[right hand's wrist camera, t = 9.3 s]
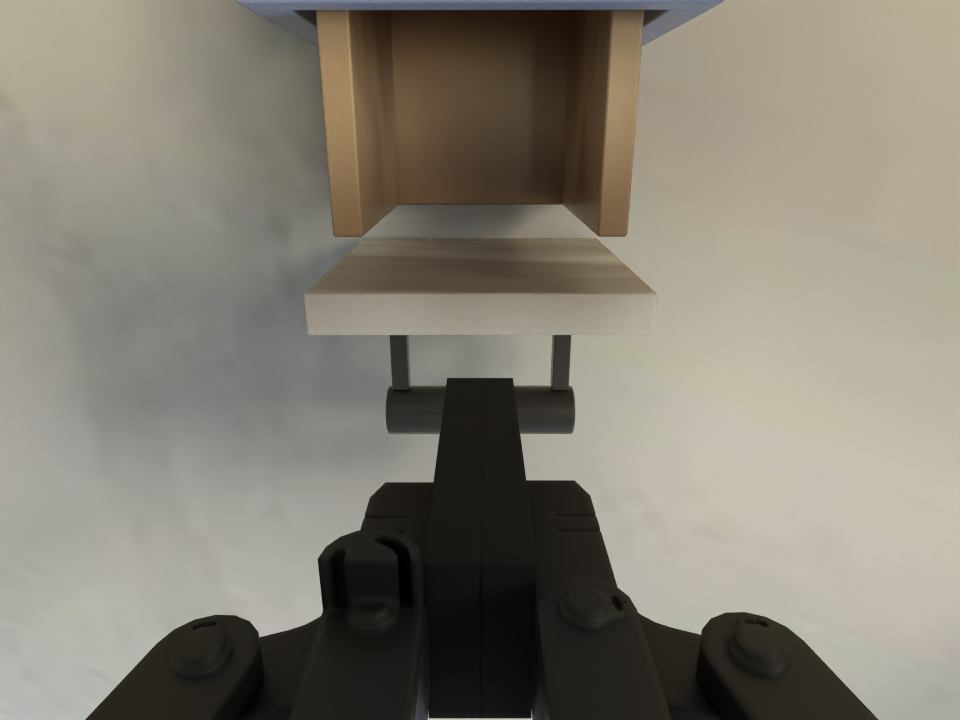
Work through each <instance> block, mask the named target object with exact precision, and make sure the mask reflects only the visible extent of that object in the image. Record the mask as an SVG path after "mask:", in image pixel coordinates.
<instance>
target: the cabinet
mask: <svg viewBox="0 0 960 720" xmlns="http://www.w3.org/2000/svg"><path fill="white" fill-rule="evenodd" d="M723 1H724V0H236V2H237V3H239V4H241V5H243V6H245V7H247V8H248V9H250V10H251V11H253V12H254V13H256V14H258V15H260V16H262V17H264V18H266V19H268V20H269V21H271V22H273V23H275V24H277V25H279V26H281V27H283V28H285V29H286V30H288V31H290V32H292V33H294V34H296V35H298V36H300V37H302V38H303V39H305V40H307V41H309V42H311V43H313V44H315V45H317V46H318V33H317V20H316V10H644V20H643V33H642V46H643V45H645V44H646V43H648V42H650V41H652V40H654V39H656V38H658V37H660V36H661V35H663V34H665V33H667V32H669V31H671V30H673V29H674V28H676V27H678V26H680V25H682V24H684V23H686V22H687V21H689V20H691V19H693V18H695V17H697V16H699V15H701V14H702V13H704V12H706V11H708V10H709V9H711V8H712V7H714V6H716V5H718V4H720V3H722V2H723ZM318 47H319V46H318Z"/></svg>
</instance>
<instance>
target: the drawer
mask: <svg viewBox="0 0 960 720" xmlns="http://www.w3.org/2000/svg"><path fill="white" fill-rule="evenodd" d="M316 20H317V33H318V46H319V59H320V71H321V84H322V97H323V110H324V123H325V135H326V148H327V161H328V174H329V187H330V199H331V212H332V225H333V235H334V236H335V237H361V236H363V235H364V234H365V233H367V232H368V231H369V230H370V229H371V228H372V227H373V226H374V225H376V224H377V223H378V222H379V221H380V220H381V219H382V218H384V217H385V216H386V215H387V214H388V213H389V212H390V211H392V210H393V209H394V208H395V207H396V206H397V205H495V204H563V205H564V206H565V207H566V208H567V209H568V210H569V211H571V212H572V213H573V214H574V215H575V216H576V217H577V218H578V219H580V220H581V221H582V222H583V223H584V224H585V225H586V226H588V227H589V228H590V229H591V230H592V231H593V232H594V233H596V234H597V235H598V236H600V237H624V236H626V235H627V230H628V217H629V204H630V191H631V178H632V165H633V151H634V138H635V125H636V112H637V99H638V86H639V73H640V60H641V47H642V33H643V20H644V10H316ZM303 296H304V307H305V317H306V327H307V334H308V335H390V350H391V369H392V386H390V387H389V388H388V391H387V398H386V425H387V430H388V433H389V434H440V430H441V422H442V415H443V407H444V399H445V391H446V386H410V365H409V341H408V335H552V359H551V386H514V391H515V399H516V407H517V415H518V422H519V430H520V434H571V433H573V430H574V424H575V398H574V392H573V388H572V387H571V386H569V368H570V348H571V335H652V334H653V333H654V324H655V313H656V303H657V293H655V292H654V291H653V290H652V289H651V288H650V287H649V286H648V285H647V284H646V283H645V282H643V281H642V280H641V279H640V278H639V277H638V276H637V275H636V274H635V273H634V272H633V271H631V270H630V269H629V268H628V267H627V266H626V265H625V264H624V263H623V262H622V261H620V260H619V259H618V258H617V257H616V256H615V255H614V254H613V253H612V252H611V251H610V250H608V249H607V248H606V247H605V246H604V245H603V244H602V243H601V242H600V241H599V240H598V239H596V238H571V239H363V240H362V241H361V242H360V243H359V244H358V245H357V246H356V247H355V248H354V249H353V250H351V251H350V252H349V253H348V254H347V255H346V256H345V257H344V258H343V259H342V260H340V261H339V262H338V263H337V264H336V265H335V266H334V267H333V268H332V269H331V270H330V271H328V272H327V273H326V274H325V275H324V276H323V277H322V278H321V279H320V280H319V281H317V282H316V283H315V284H314V285H313V286H312V287H311V288H310V289H309V290H308V291H307V292H305V293H304V295H303Z"/></svg>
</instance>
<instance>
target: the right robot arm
mask: <svg viewBox="0 0 960 720" xmlns="http://www.w3.org/2000/svg"><path fill="white" fill-rule="evenodd" d="M318 566H319V575H320V585H321V594H322V604H323V613H322V616H320V617H319V618H317V619H315V620H313V621H312V622H310V623H308V624H306V625H303V626H300V627H297V628H294V629H291V630H288V631H284V632H280V633H276V634H272V635H267V636H263V637H259V634H258V631H257V630H256V629H255V628H254V626H253V625H252V624H251V623H250V621H247V620H245V619H242V618H240V617H237V616H235V615H213V616H209V617H205V618H200V619H196V620H193V621H191V622H189V623H187V624H185V625H183V626H181V627H179V628H177V629H175V630H173V631H172V632H171V633H169V634H168V635H167V636H166V637H164V638H163V639H162V640H161V641H160V642H158V643H157V644H156V645H155V646H154V647H153V648H152V649H151V650H150V652H149V653H148V654H147V655H146V656H145V657H144V658H143V659H142V660H141V661H140V662H139V663H138V664H137V665H136V666H135V667H134V669H133V670H132V671H131V672H130V673H129V674H128V675H127V676H126V677H125V678H124V679H123V680H122V681H121V682H120V683H119V685H118V686H117V687H116V688H115V689H114V690H113V691H112V692H111V693H110V694H109V695H108V696H107V697H106V698H105V699H104V700H103V702H102V703H101V704H100V705H99V706H98V707H97V708H96V709H95V710H94V711H93V712H92V713H91V714H90V715H89V716H88V717H87V719H86V720H428V709H429V718H531V709H532V717H533V720H878V719H877V718H876V717H875V716H874V715H873V714H872V712H871V711H870V710H869V709H868V708H867V707H866V706H865V705H864V704H863V703H862V702H861V701H860V700H859V699H858V698H857V697H856V696H855V695H854V693H853V692H852V691H851V690H850V689H849V688H848V687H847V686H846V685H845V684H844V683H843V682H842V681H841V680H840V679H839V678H838V677H837V676H836V674H835V673H834V672H833V671H832V670H831V669H830V668H829V667H828V666H827V665H826V664H825V663H824V662H823V661H822V660H821V659H820V658H819V657H818V655H817V654H816V653H815V652H814V651H813V650H812V649H811V648H810V647H809V646H808V645H807V644H806V643H805V642H804V641H803V640H802V639H801V638H800V637H798V636H797V635H796V634H795V633H793V632H792V631H791V630H790V629H788V628H787V627H785V626H783V625H781V624H779V623H777V622H775V621H773V620H771V619H769V618H767V617H763V616H759V615H755V614H750V613H746V612H737V613H724V614H722V615H719V616H716V617H714V618H711V619H710V620H709V622H708V623H707V624H706V625H705V627H704V628H703V629H702V634H701V635H699V634H695V633H691V632H687V631H683V630H679V629H675V628H671V627H668V626H664V625H661V624H658V623H655V622H653V621H652V620H650V619H648V618H646V617H644V616H642V615H640V614H639V613H638V612H637V609H636V608H635V606H634V604H633V603H632V601H631V599H630V598H629V596H627V595H626V594H625V593H624V592H622V591H621V590H620V589H619V588H617V584H616V581H615V578H614V574H613V571H612V568H611V564H610V561H609V557H608V554H607V551H606V547H605V544H604V541H603V537H602V534H601V532H600V527H599V524H598V521H597V517H595V510H594V507H593V504H592V500H591V497H590V495H589V494H588V493H587V492H586V491H585V490H584V489H583V488H582V487H581V486H580V485H579V484H577V483H576V482H575V481H526V476H525V468H524V461H523V453H522V445H521V438H520V430H519V422H518V415H517V407H516V399H515V391H514V384H513V378H447V384H446V391H445V399H444V407H443V415H442V422H441V430H440V438H439V445H438V453H437V461H436V468H435V476H434V483H385V484H384V485H383V486H382V487H381V488H380V489H378V490H377V491H376V492H375V493H374V494H373V495H372V496H371V497H370V500H369V503H368V506H367V510H366V513H365V519H364V520H363V523H362V527H361V530H360V531H356V532H353V533H350V534H347V535H345V536H342V537H340V538H338V539H337V540H335V541H334V542H332V543H331V544H330V545H328V546H327V547H326V548H325V549H324V551H323V552H322V554H321V555H320V557H319V558H318Z"/></svg>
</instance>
